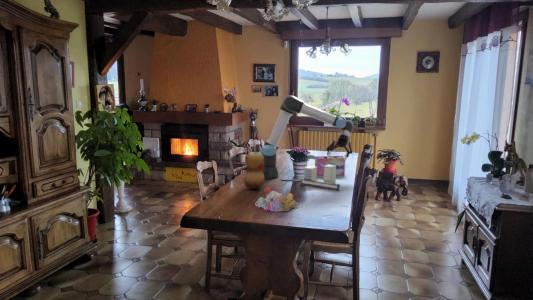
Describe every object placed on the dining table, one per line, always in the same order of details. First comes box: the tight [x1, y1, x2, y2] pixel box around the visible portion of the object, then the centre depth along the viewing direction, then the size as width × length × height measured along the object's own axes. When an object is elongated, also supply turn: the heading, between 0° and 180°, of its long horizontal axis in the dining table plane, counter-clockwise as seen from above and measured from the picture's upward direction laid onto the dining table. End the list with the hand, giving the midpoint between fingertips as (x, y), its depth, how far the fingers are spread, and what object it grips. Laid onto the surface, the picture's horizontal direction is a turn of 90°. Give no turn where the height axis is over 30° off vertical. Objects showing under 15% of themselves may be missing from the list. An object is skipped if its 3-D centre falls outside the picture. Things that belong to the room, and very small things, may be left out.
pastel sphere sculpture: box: [254, 186, 298, 213], centre depth 217 cm, size 25×24×9 cm
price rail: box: [300, 178, 341, 192], centre depth 257 cm, size 28×2×4 cm, turn 58°
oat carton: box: [303, 165, 318, 181], centre depth 267 cm, size 8×6×12 cm
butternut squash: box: [243, 151, 265, 190], centre depth 250 cm, size 14×13×25 cm
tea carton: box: [323, 164, 337, 184], centre depth 273 cm, size 8×6×12 cm
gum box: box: [314, 155, 346, 176], centre depth 298 cm, size 24×8×14 cm, turn 98°
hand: (336, 159), depth 280 cm, fingers open, 13 cm apart
